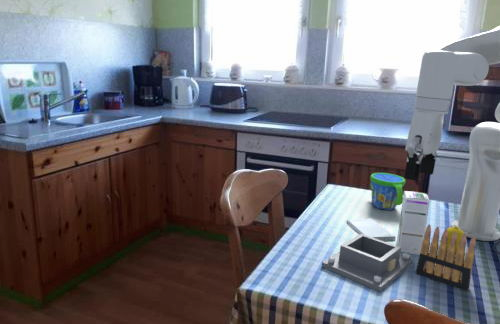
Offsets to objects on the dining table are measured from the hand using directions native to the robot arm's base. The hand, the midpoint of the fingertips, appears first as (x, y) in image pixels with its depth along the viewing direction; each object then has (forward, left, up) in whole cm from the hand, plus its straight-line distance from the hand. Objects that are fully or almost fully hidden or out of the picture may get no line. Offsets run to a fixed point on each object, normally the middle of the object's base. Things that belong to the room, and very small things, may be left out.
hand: (418, 176), depth 100 cm
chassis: (+16, -3, -19) cm, 25 cm away
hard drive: (-4, -12, -20) cm, 24 cm away
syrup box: (0, 0, -20) cm, 20 cm away
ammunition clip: (+10, +12, -20) cm, 25 cm away
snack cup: (-26, -18, -20) cm, 37 cm away
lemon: (-5, +9, -20) cm, 22 cm away
